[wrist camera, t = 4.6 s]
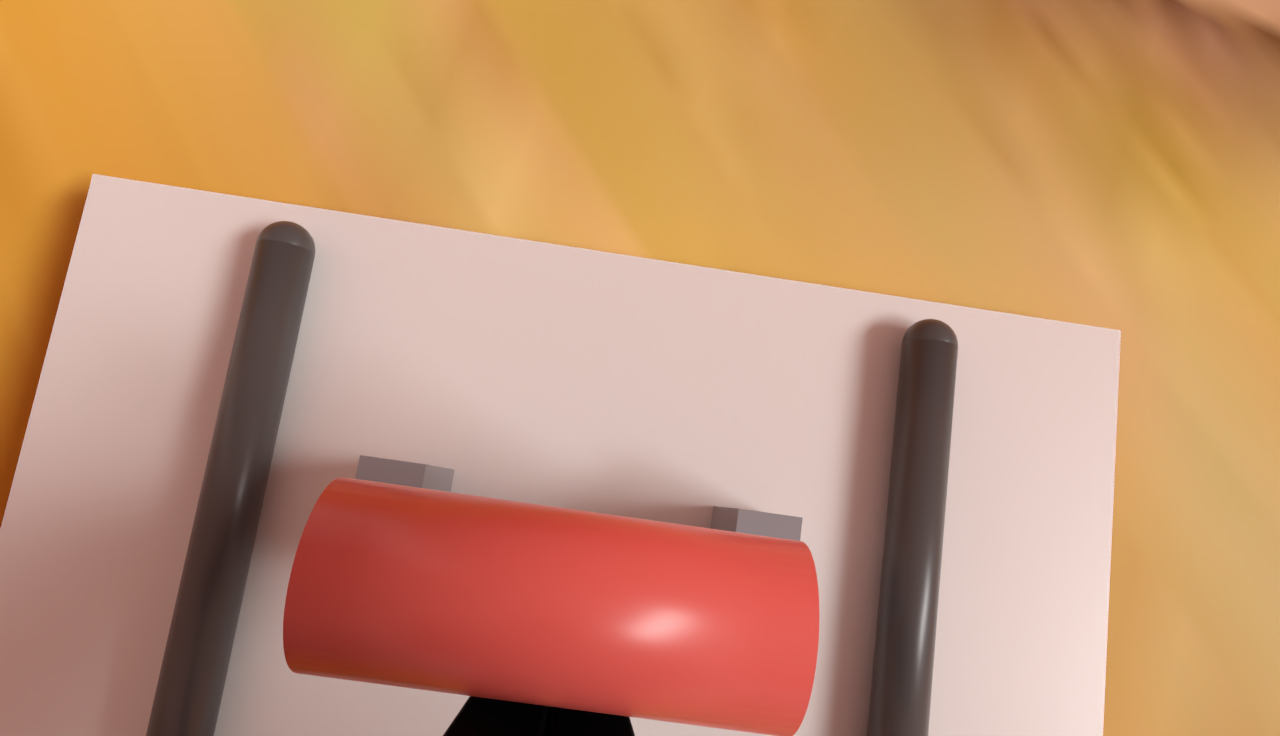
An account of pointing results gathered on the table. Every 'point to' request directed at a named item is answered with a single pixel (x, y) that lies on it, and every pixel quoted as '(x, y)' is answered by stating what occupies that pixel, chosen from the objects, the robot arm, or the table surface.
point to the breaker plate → (536, 462)
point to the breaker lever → (553, 607)
